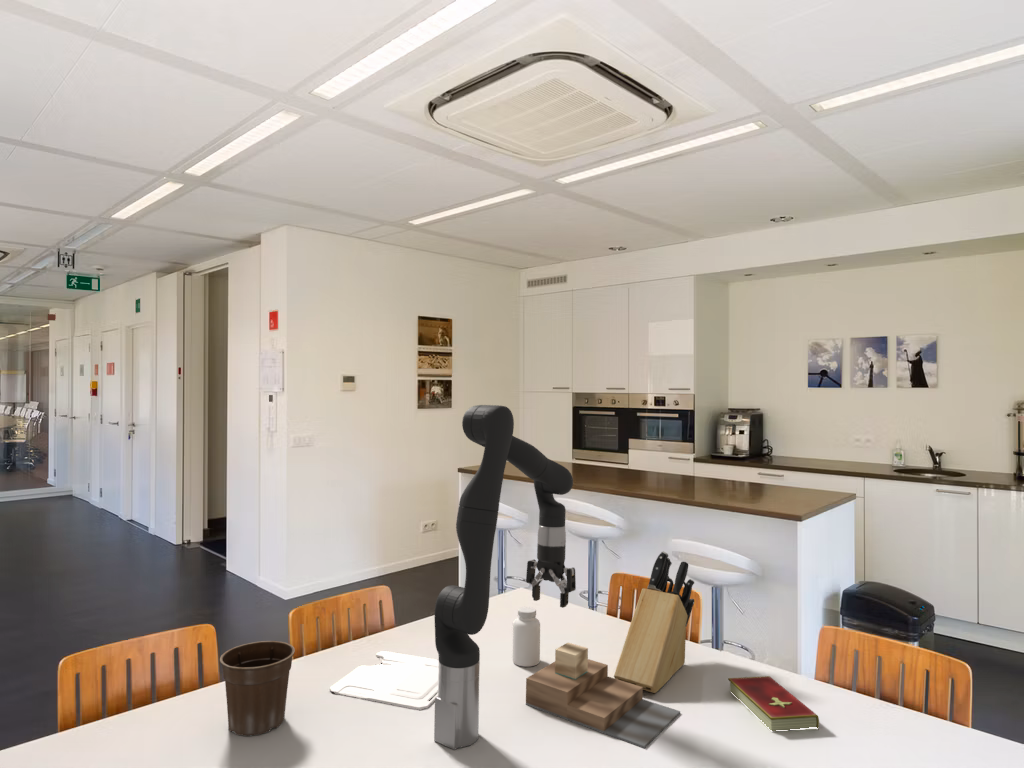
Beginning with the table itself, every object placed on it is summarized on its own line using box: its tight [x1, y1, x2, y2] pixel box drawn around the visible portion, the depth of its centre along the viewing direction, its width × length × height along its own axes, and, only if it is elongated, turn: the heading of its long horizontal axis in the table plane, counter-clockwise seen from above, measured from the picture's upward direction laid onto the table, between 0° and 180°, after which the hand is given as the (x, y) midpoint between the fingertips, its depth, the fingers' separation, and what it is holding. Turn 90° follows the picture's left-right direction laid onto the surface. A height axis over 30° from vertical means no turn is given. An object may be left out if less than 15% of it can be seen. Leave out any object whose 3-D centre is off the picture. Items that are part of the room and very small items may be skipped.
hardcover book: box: [727, 675, 820, 731], centre depth 161 cm, size 12×21×4 cm, turn 8°
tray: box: [329, 650, 439, 711], centre depth 176 cm, size 28×28×2 cm
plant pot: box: [219, 640, 296, 737], centre depth 151 cm, size 16×16×16 cm
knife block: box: [613, 550, 695, 694], centre depth 184 cm, size 11×35×31 cm, turn 146°
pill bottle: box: [511, 606, 541, 668], centre depth 188 cm, size 8×8×15 cm
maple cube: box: [554, 642, 589, 680], centre depth 166 cm, size 6×6×6 cm
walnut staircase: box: [525, 658, 681, 749], centre depth 160 cm, size 20×32×6 cm, turn 53°
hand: (549, 603), depth 173 cm, fingers open, 8 cm apart
